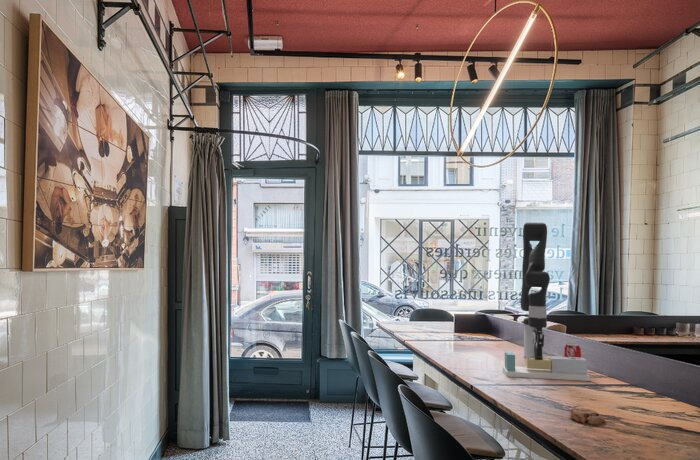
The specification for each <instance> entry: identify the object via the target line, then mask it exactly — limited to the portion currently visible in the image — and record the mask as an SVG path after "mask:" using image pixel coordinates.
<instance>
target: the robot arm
mask: <svg viewBox="0 0 700 460" xmlns="http://www.w3.org/2000/svg"><path fill="white" fill-rule="evenodd" d="M547 239H548V226H547V223H546V222H545V223H544V222H524V224H523V229H522V244H523V245H522V246H523V247H522V248H523V249H522V250H523V253H522V254H523V255H522V268H521V269H522V270H521V272H522V274H521V275H522V276H521V277H522V279H521V281H522V282H521V283H522V285H521V294H520V308H521V310H522V311H523V312H528V316H527V317H525V318H524V319H523V355H524V356H523V357H525V359H526V358H534V345H536V355H537V356H542V350H544V343H545V342H544V341H545V334H544V331H543V329H545V328H547V327H548V325H547V324H548V320H547V318H548V317H547V316H548V315H547V299H546V298H547V291H548V287H549V285H550V281H551V277H550V274H549V273H548V272H547V271H545V269H546V260H545V259H546V249H547ZM531 242H538V243H537V244H536V245H535V246H534V247H533V246H532V245H531ZM532 288H540V290H538V291H535V292H534V291H533V292H530V291H531V289H532Z"/></svg>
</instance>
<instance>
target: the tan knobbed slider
mask: <svg viewBox="0 0 700 460" xmlns="http://www.w3.org/2000/svg"><path fill="white" fill-rule="evenodd" d="M543 350H544V349H543ZM543 350H542V356H537V355H536V345H534V358H526V357H525V367H526V368H527V369H546V370H552V360H551V359H549V358H544V351H543Z"/></svg>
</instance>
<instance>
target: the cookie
mask: <svg viewBox="0 0 700 460" xmlns="http://www.w3.org/2000/svg"><path fill="white" fill-rule="evenodd" d="M569 418H570V419H571V420H574V421H576V422H579V423H582V424H584V425H586V424H587V425H593V426H594V425H595V426H597V425H601V424H603V423H605V421H606V419H605V417H604V416H602V415H600V414H599V413H598V412H597V411H596V410H593V409H590V408H584V407H582V408H580V407H579V408H573V409H571V410H570V417H569Z"/></svg>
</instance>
